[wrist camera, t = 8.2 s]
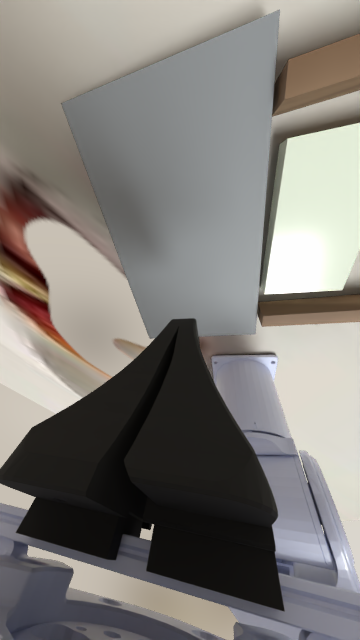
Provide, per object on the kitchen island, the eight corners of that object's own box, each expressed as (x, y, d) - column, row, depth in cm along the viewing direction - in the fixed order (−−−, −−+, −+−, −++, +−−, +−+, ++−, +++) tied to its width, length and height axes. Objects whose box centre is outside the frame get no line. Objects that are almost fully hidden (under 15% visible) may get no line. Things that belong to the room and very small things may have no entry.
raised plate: (252, 325, 20) (255, 334, 18) (153, 330, 22) (149, 338, 21) (271, 33, 9) (279, 9, 8) (76, 112, 12) (61, 103, 11)
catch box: (388, 303, 16) (413, 319, 14) (256, 312, 19) (261, 326, 17) (566, -14, 7) (697, -91, 5) (273, 85, 10) (288, 59, 8)
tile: (329, 280, 16) (342, 290, 14) (259, 284, 17) (264, 294, 16) (387, 122, 10) (419, 109, 9) (277, 145, 12) (287, 138, 10)
